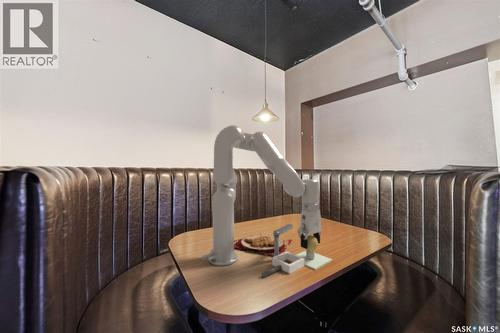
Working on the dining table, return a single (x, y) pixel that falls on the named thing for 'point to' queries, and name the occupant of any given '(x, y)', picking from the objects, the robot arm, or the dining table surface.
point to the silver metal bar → (282, 230)
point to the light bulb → (311, 247)
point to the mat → (314, 260)
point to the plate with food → (260, 244)
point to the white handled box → (279, 259)
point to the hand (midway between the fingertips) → (310, 245)
